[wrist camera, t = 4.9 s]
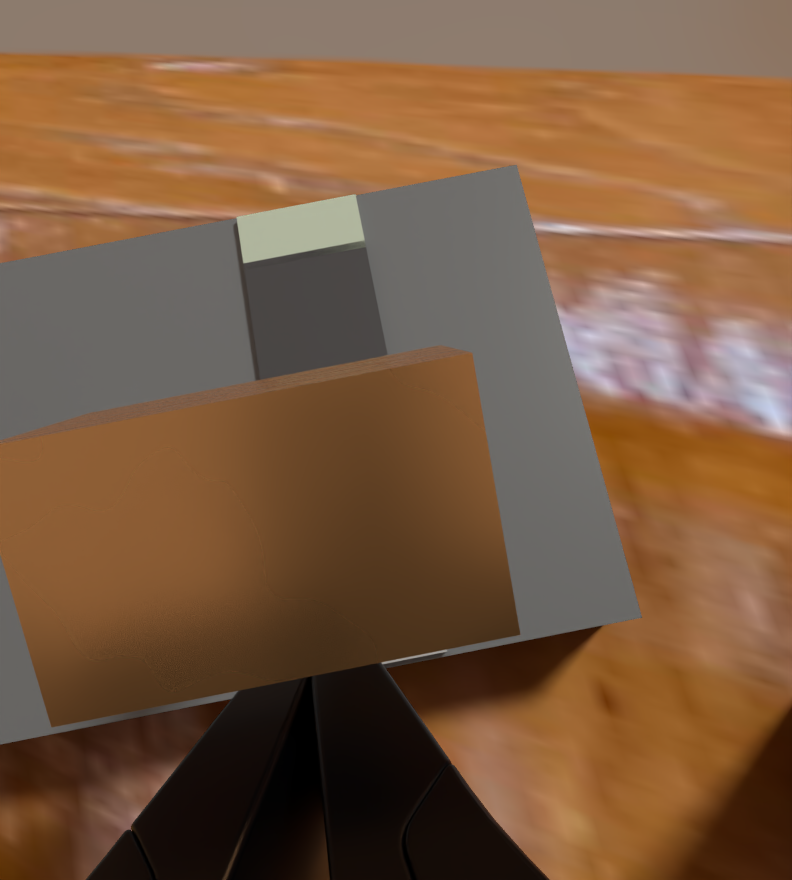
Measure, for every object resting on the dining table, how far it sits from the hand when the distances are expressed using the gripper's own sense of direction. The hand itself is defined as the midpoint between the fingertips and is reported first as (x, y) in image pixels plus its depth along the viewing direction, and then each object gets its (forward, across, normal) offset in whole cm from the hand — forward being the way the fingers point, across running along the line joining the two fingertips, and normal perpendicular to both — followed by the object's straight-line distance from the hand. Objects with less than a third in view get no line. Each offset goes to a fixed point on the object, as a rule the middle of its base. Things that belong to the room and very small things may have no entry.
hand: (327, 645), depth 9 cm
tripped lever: (+8, 0, 0) cm, 8 cm away
